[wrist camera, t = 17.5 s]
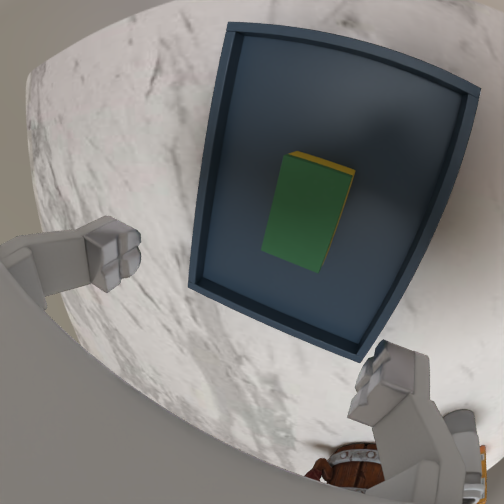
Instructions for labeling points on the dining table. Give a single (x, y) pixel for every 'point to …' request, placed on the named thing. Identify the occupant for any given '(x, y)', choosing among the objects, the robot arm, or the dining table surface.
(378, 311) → the tray
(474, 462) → the cup
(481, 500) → the supplement box
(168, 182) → the dining table surface
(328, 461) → the mug
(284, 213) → the sponge
